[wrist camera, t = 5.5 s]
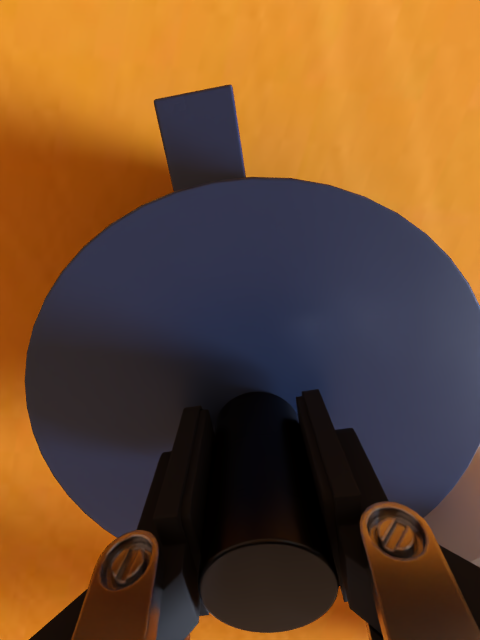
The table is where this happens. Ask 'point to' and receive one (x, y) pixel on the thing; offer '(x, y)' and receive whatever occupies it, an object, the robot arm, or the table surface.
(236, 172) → the pot
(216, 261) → the pot lid
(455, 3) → the table surface
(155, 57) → the table surface
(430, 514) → the can
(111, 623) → the robot arm
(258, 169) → the table surface
